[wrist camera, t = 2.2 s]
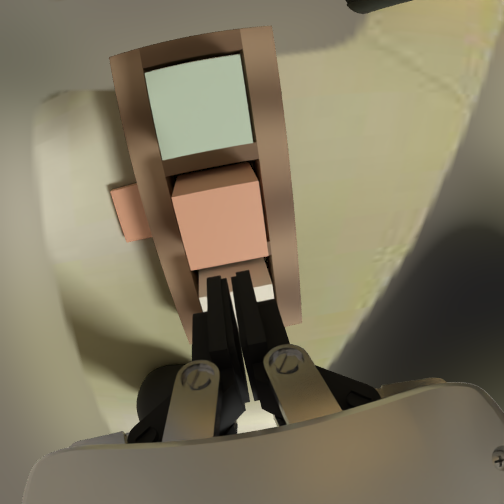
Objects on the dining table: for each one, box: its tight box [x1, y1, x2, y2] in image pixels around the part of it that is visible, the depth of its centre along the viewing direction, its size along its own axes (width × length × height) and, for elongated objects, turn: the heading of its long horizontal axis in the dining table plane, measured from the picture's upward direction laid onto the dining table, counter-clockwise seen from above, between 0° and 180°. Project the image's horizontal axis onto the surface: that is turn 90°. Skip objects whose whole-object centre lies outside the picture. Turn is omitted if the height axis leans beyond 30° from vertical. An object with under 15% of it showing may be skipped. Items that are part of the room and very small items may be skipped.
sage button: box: [145, 54, 253, 160], centre depth 16 cm, size 4×4×4 cm
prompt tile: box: [110, 183, 152, 242], centre depth 21 cm, size 4×2×1 cm, turn 8°
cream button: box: [199, 257, 274, 331], centre depth 22 cm, size 4×4×4 cm
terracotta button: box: [171, 162, 269, 271], centre depth 19 cm, size 4×4×4 cm
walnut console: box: [109, 26, 302, 344], centre depth 21 cm, size 21×9×3 cm, turn 8°
